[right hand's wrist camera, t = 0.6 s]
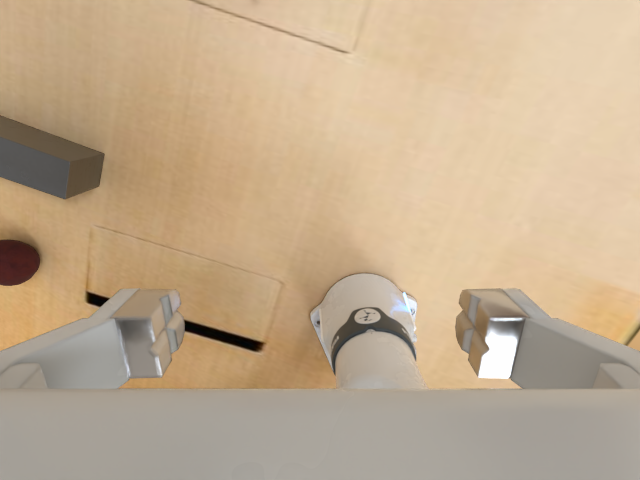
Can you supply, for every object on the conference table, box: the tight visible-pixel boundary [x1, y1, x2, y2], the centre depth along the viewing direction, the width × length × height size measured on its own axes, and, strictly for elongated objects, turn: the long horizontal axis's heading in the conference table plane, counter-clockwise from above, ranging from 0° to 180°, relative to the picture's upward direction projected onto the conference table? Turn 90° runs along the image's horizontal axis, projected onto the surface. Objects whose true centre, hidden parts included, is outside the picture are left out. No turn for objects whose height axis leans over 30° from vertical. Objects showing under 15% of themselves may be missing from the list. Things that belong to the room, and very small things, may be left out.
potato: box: [0, 240, 40, 286], centre depth 55 cm, size 7×8×7 cm
